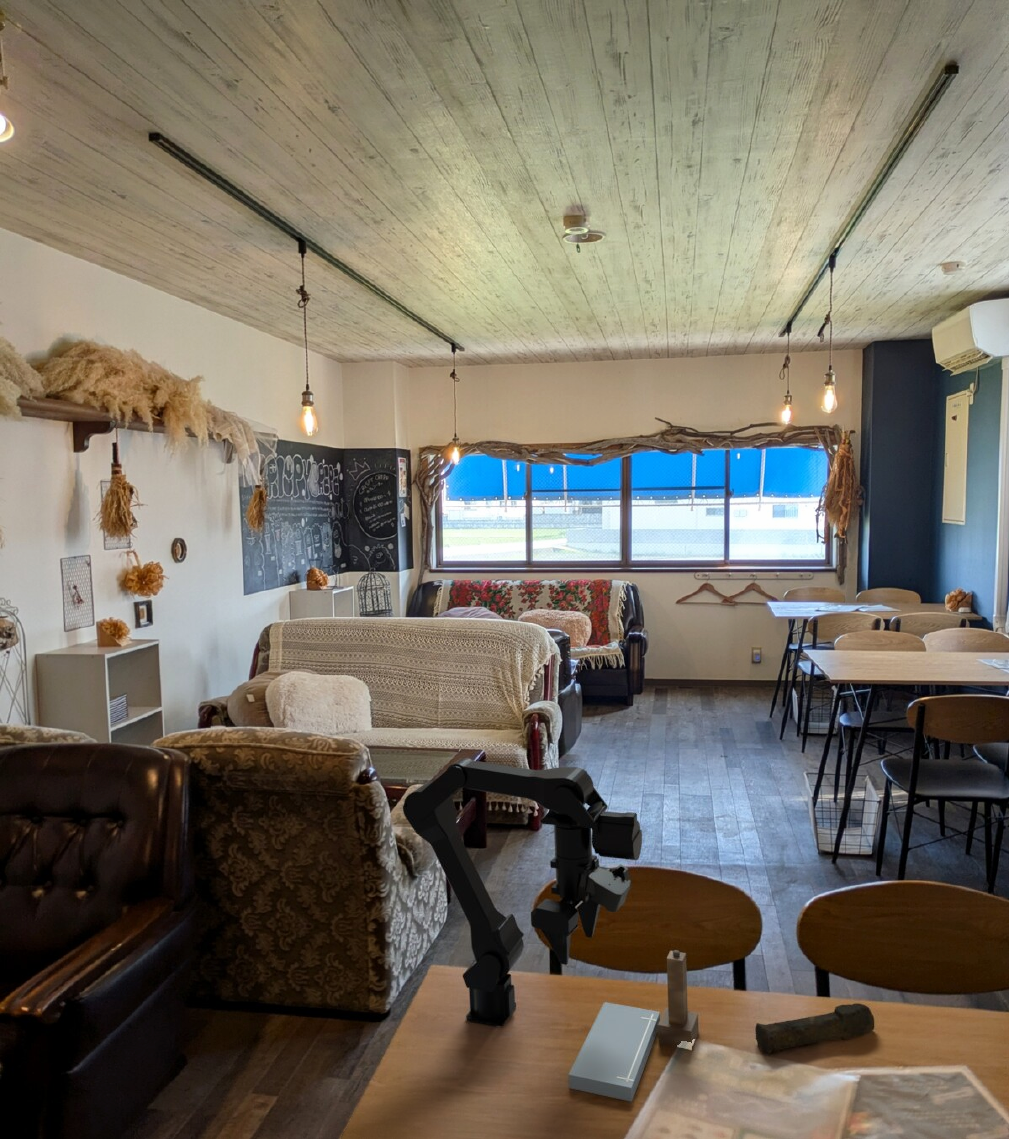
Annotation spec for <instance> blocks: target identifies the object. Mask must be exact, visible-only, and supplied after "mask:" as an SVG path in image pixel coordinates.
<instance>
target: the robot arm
mask: <svg viewBox="0 0 1009 1139" xmlns="http://www.w3.org/2000/svg"><path fill="white" fill-rule="evenodd" d="M462 789H468V790H473V791H479V792H485V793H490V794H491V793H492V794H497V795H498V794H499V795H503V796H510V797H515V798H520V799H521V798H522V799H527V800H530V801H533V802H535V803H536V804H538V805H539V806H541V807H542V808H544V809H546V810H548V812H547V813H545V815H544V816H543V817H541V819H540V821H539V822H540V824H542V825H549V826H553V833H554V834H553V835H554V857H553V859H551V860H550V861H549V863H550V864H549V866H550V868H551V869H555V883H554V884H553V885H552V886H551V887H550V892H551V895H552V894H553V895H557V896H558V897H559V898H560V899H561V900H556V899H555V900H554V899H549V898H545V899H544V900H543V901H542V902H540V904H538V905H537V906H536V907H535V908H534V909H533V910H532V911H531V912H530V924H531V927H533V928H536V929H537V930H540V931H541V932H542V934H543V935H544V937H545V938H546V940H547V941H548V943H549V945H550V947H551V948H552V952H554V954H555V957H556V958H557V960H558V962H559V964H561V965H563V966H564V965H565V966H566V965H568V964H569V957H570V950H571V949H570V948H571V935H572V934H573V932H575V930H577V928H579V926H580V925H579V924H578V920H579V919H580V923H581V926H582V929H583V932H584V935H585V937H586V938H589V939H591V938H592V939H593V937H594V934H595V929H596V926H597V922H598V921H597V920H598V916H599V912H600V909H601V906H602V907H603V908H605V910H607V911H608V912H610V913H616V912H618V911H619V909H620V908H621V906H623V905H624V904H625V901H626V899H627V896H628V893H629V891H630V890H631V889H632V888H633V887H632V880H631V879H630V871H629V867H627V866H625V865H623V864H619V865H617V866H616V867H615V868H614V869H613V870H612V869H611V867H605V866H601V865H600V860H599V858H598V855H599V857H603V858H613V859H620V860H629V861H638V860H639V858H640V856H641V851H642V843H643V831H642V830H643V829H641V824H640V822H639V820H638V813H637V812H629V811H628V812H617V811H615V812H614V811H607V809H609V806H608V805H607V803H606V802H605V800H604V799H603V798H602V796H601V795H600V794H599V792H598V791H597V789H596V788H595V786H594V782H593V779H592V777H591V775H590V774H589V773H588V772H587V770H585V769H583V768H581V767H577V766H567V767H566V766H565V767H564V766H563V767H561V766H560V767H552V768H547V769H546V768H545V769H532V768H531V769H530V768H524V767H519V766H518V767H517V766H510V765H506V764H499V763H498V764H497V763H491V762H486V761H480V760H479V761H478V760H473V759H471V758H469V757H461V758H460V759H458V760H456V761H455V762H453V763H452V764H450V765H449V766H448V767H447V769H446V770H445V771H444V772H443V773H441V774H440V775H439V776H438V777H437V778H436V779H435V780H430V781H427V782H425V783H424V784H423V785H421V786H420V787H418V788H416V789H415V790H414V791H412V792H411V793H409V794H408V795H407V796H406V798H405V799H404V801H403V805H402V812H403V816H404V817H405V819H406V820H407V822H408V823H409V825H410V826H411V828H412V829H413V831H414V833H415V834H417V835H418V836H419V837H420V838H421V839H422V840H424V841H426V842H427V843H428V844H429V845H430V846H431V848H432V851H433V852H434V854H435V856H436V858H437V860H438V863H439V864H440V866H441V869H442V871H443V874H445V877H446V879H447V880H448V883H449V886H450V887H451V888H452V892H453V893H454V895H455V897H456V900H457V902H458V904H459V906H460V908H461V910H462V912H463V914H464V917H465V918H466V920H467V922H468V925H469V927H470V928H469V929H470V944H471V945H470V946H471V947H470V948H471V951H472V954H473V956H474V960H473V962H472V963H471V964H470V965H469V966H468V968H467V969H466V970H465V971H464V972H463V973H462V979H463V981H464V984H465V987H466V988H467V989H468V992H469V1011H468V1013H466V1016H465V1020H466V1019H467V1020H466V1021H468V1020H469V1021H470V1022H474V1023H479V1024H483V1025H491V1026H495V1027H499V1028H500V1027H501V1028H502V1027H504V1025H505V1024H506V1022H507V1021H508V1020H509V1018H511V1016H512V1014H513V1013H514V1011H515V1009H516V1008H517V1002H516V995H515V985H514V984H512V975H511V974H510V973H509V972H510V971H511V969H512V968H513V967H514V965H515V964H516V962H517V961H518V960H519V958H520V957H521V956H522V954H523V951H524V946H525V945H524V940H523V938H524V936H525V934H524V933H523V932H522V930H520V928H519V926H518V924H517V921H516V918H515V916H514V915H513V913H510V914H508V915H506V916H505V915H504V914H503V913H501V912H500V911H499V910H497V908H496V907H495V905H494V903H493V901H492V899H491V897H490V895H489V892H488V891H487V888H486V886H485V884H484V882H483V881H482V878H481V876H480V874H479V871H478V870H477V868H476V866H475V865H474V862H473V860H472V858H471V856H470V853H469V852H468V850H467V848H466V846H465V844H464V842H463V839H462V837H461V835H460V833H459V831H458V827H457V825H458V824H457V810H456V806H455V804H454V803H455V802H454V800H453V797H454V796H455V795H456V794H458V793H459V792H460V791H461V790H462ZM585 805H587V806H589V807H587V808H586V807H585ZM593 849H594V853H595V855H594V854H593Z"/></svg>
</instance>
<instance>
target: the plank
mask: <svg viewBox="0 0 1009 1139" xmlns="http://www.w3.org/2000/svg"><path fill="white" fill-rule="evenodd" d="M660 1019H661V1012H660V1011H655V1010H650V1009H644V1008H639V1007H634V1006H628V1005H625V1004H624V1005H623V1004H616V1003H612V1002H606V1001H604V1002H603V1004H602V1007H601V1008H600V1010H599V1011H598V1013H597V1016H596V1017H595V1020H594V1022H593V1024H592V1026H591V1029H590V1030H589V1032H588V1034H587V1037H586V1039H585V1040H584V1042H583V1045H582V1047H581V1048H580V1050H579V1052H578V1054H577V1057H576V1059H575V1061H574V1063H573V1065H572V1067H571V1069H570V1071H569V1073H568V1089H571V1090H576V1091H582V1092H585V1093H589V1094H590V1093H591V1094H594V1095H595V1094H596V1095H600V1096H604V1097H609V1098H613V1099H617V1100H621V1101H622V1100H623V1101H626V1102H632V1103H633V1100H634V1098H635V1094H636V1092H637V1089H638V1086H639V1083H640V1080H641V1077H642V1075H643V1072H644V1069H645V1067H646V1064H647V1061H648V1058H649V1056H650V1053H651V1050H652V1048H653V1045H654V1043H655V1039H656V1036H657V1034H658V1024H659V1022H660Z"/></svg>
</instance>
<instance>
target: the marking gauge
mask: <svg viewBox="0 0 1009 1139" xmlns="http://www.w3.org/2000/svg"><path fill="white" fill-rule="evenodd" d="M687 972H688V971H687V953H686V952H680V951H679V950H678V949H675V950H669V953H668V955H667V957H666V974H667V975H666V976H667V977H666V978H667V981H666V982H667V1006H665V1008H664V1010H663V1013H662V1015H661V1016H660V1022H659V1024H658V1032H657V1034H658V1035H657V1036H658V1045H663V1046H668V1047H673V1048H676V1047H677V1045H679V1044H680V1043H681V1041H687V1042H691V1043H692V1040H693V1039H696V1040H697V1037H698V1035H699V1032H700V1031H699V1013H698V1012H694V1011H693V1012H692V1011H689V1008H688V1006H689V1005H688V979H687V978H688V977H687V975H688V974H687Z"/></svg>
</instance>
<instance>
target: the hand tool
mask: <svg viewBox="0 0 1009 1139" xmlns="http://www.w3.org/2000/svg"><path fill="white" fill-rule="evenodd" d="M871 1010H872V1009H870V1007H869V1006H867V1005H866V1004H863V1003H858V1002H857V1003H855V1002H854V1003H852V1004H848V1003H847V1004H841V1005H837V1006H835V1008H834V1011H832V1012H828V1013H826V1014H825V1013H824V1014H820V1015H813V1016H808V1017H803V1018H797V1019H791V1020H785V1021H779V1022H774V1023H768V1024H763V1023H762V1024H761V1023H759V1022H757V1023H756V1024H755V1041H756V1043H757V1046H758V1047H759V1049H760V1050H761V1052H762V1053H764V1054H765V1055H767V1056H769V1055H770V1054H771V1053H772V1052H773V1053H775V1054H778V1053H779V1051H780V1050H784V1049H789V1048H793V1047H798V1046H799V1047H800V1046H805V1045H810V1044H813V1043H820V1042H823V1041H829V1040H833V1039H840V1040H843V1041H844V1042H848V1041H852V1040H856V1039H859V1038H860V1037H862V1036H865V1035H868V1034H869V1033H870V1032H873V1031H874V1029H875V1017H874V1015H873V1013H872V1011H871Z"/></svg>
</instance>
